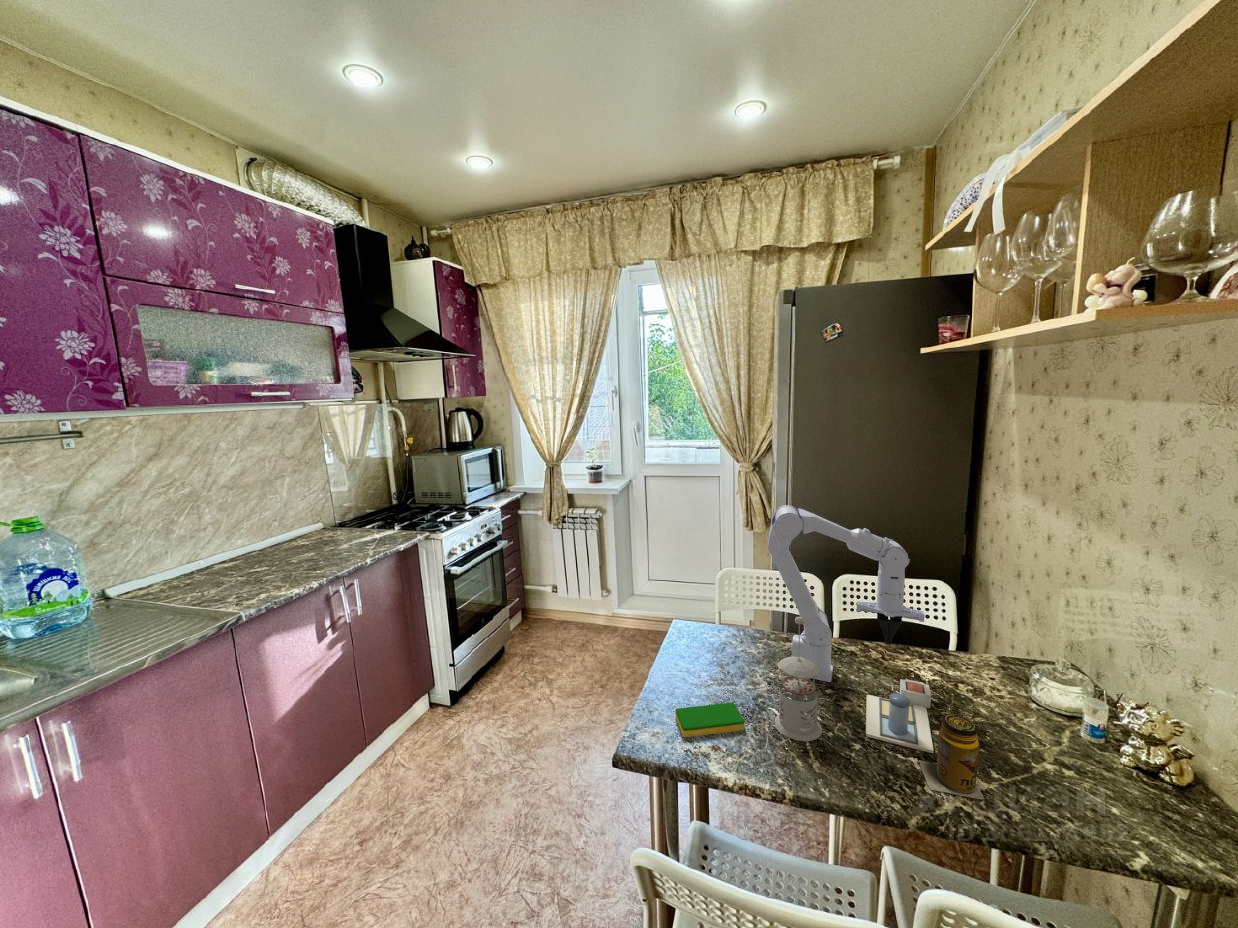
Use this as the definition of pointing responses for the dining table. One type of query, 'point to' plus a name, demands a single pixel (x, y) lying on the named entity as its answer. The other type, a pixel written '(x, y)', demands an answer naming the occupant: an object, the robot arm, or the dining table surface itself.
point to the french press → (798, 698)
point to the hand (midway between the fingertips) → (888, 642)
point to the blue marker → (898, 713)
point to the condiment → (955, 758)
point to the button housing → (916, 694)
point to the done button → (915, 687)
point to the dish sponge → (709, 719)
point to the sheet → (879, 730)
